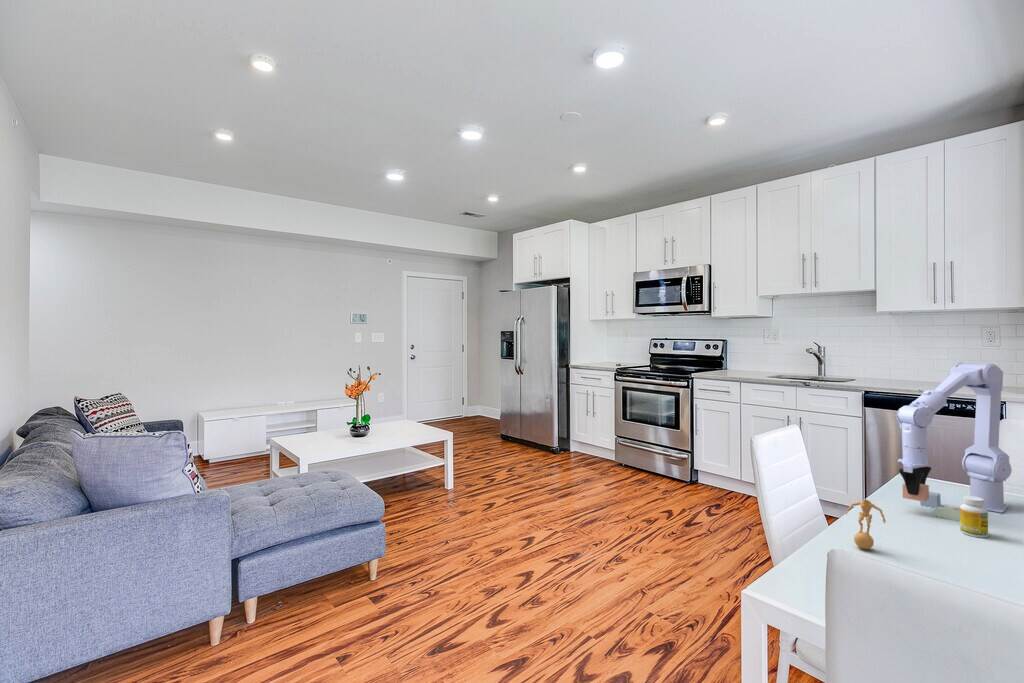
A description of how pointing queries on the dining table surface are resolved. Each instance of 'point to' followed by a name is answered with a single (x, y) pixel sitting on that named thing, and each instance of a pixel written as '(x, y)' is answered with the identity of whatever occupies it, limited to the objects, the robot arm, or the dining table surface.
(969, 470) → the robot arm
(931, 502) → the slate brick
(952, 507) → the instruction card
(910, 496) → the terracotta brick
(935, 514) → the plate
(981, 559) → the dining table surface
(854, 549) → the dining table surface
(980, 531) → the supplement bottle
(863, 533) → the figurine
